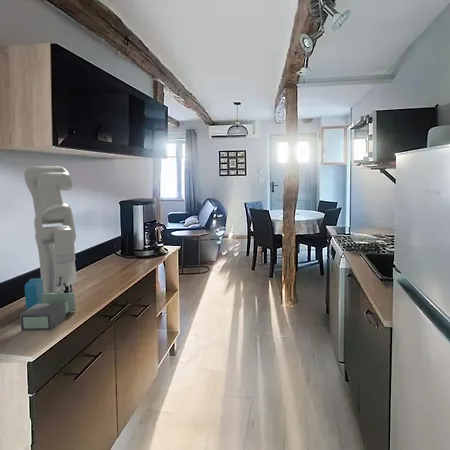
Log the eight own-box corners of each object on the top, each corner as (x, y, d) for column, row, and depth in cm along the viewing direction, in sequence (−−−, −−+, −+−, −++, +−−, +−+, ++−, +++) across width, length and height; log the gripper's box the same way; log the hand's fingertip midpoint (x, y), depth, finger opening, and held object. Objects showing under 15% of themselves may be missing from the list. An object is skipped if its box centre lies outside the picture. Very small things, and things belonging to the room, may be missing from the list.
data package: (33, 304, 168) (31, 277, 167) (44, 303, 169) (42, 277, 168) (26, 314, 157) (24, 285, 155) (38, 313, 158) (36, 284, 156)
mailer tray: (44, 310, 159) (42, 293, 158) (75, 310, 158) (74, 292, 157) (18, 329, 140) (16, 309, 139) (54, 329, 140) (52, 308, 139)
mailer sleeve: (38, 318, 152) (36, 303, 151) (65, 318, 152) (64, 303, 151) (21, 330, 140) (19, 314, 139) (51, 330, 140) (50, 314, 139)
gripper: (64, 254, 167) (67, 295, 170) (47, 262, 153) (51, 307, 155) (81, 254, 167) (84, 295, 169) (66, 261, 152) (70, 307, 155)
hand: (68, 301), depth 162 cm, fingers closed
